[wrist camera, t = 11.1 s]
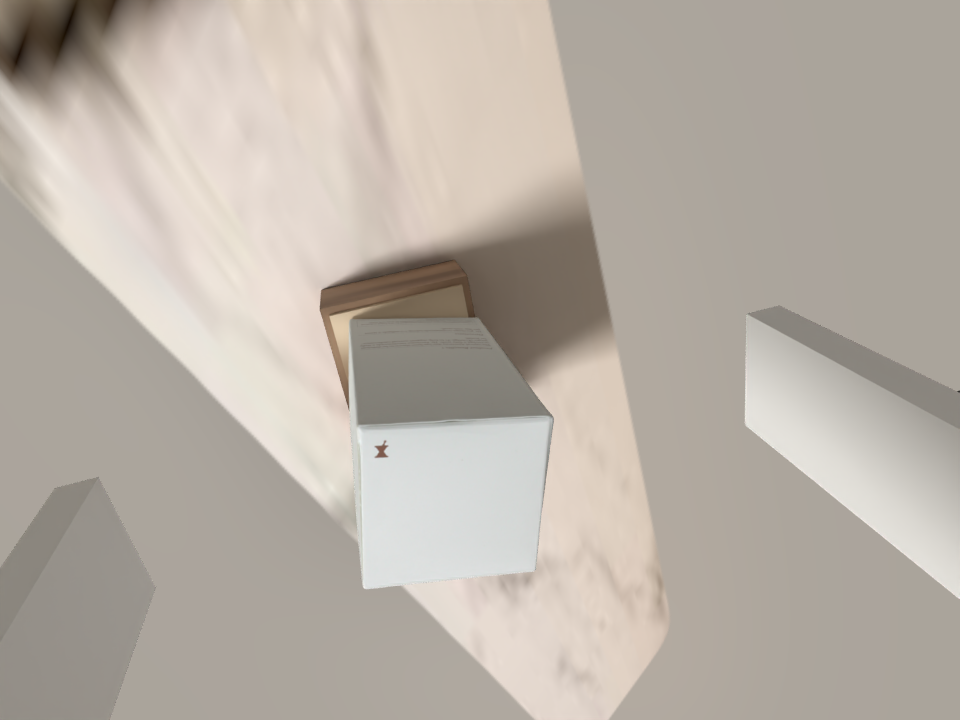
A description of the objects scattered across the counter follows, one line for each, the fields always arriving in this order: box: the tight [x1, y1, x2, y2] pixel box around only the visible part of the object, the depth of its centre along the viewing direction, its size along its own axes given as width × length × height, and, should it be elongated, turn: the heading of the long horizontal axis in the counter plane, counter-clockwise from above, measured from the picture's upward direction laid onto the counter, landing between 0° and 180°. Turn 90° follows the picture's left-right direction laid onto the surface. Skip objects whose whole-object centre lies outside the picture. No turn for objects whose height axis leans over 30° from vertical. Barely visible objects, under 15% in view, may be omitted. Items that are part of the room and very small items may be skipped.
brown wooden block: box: [320, 260, 475, 408], centre depth 37 cm, size 10×8×4 cm
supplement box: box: [349, 318, 554, 589], centre depth 30 cm, size 7×7×13 cm
